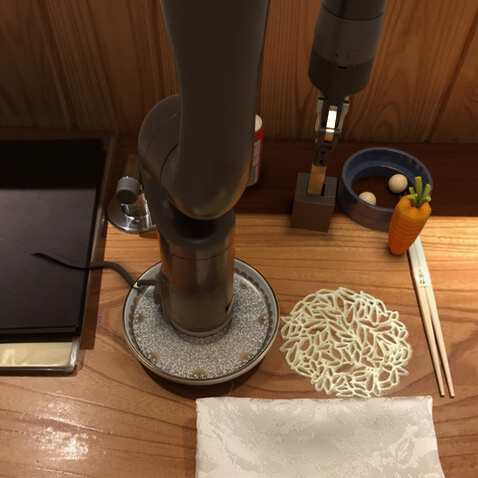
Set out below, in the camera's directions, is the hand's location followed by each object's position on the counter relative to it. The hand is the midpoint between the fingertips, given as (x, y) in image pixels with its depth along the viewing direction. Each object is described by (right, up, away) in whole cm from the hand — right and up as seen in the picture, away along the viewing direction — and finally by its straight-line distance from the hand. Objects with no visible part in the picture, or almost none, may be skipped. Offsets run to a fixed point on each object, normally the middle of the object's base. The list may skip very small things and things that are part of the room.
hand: (320, 158), depth 80 cm
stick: (0, -5, +8) cm, 9 cm away
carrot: (+13, -13, +8) cm, 20 cm away
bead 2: (+15, -1, +13) cm, 19 cm away
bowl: (+12, -3, +14) cm, 18 cm away
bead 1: (+9, -4, +10) cm, 14 cm away
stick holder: (0, -7, +11) cm, 13 cm away
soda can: (-11, +1, +16) cm, 19 cm away
